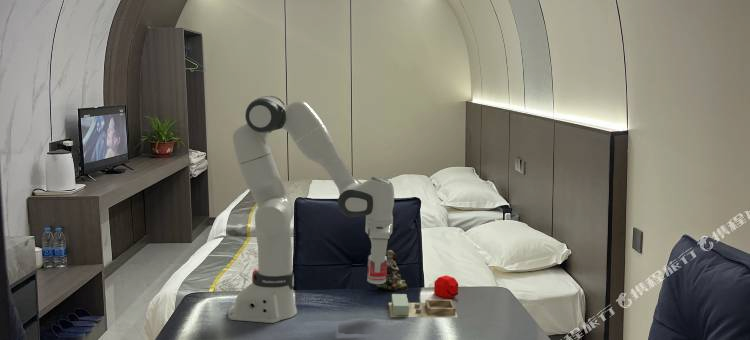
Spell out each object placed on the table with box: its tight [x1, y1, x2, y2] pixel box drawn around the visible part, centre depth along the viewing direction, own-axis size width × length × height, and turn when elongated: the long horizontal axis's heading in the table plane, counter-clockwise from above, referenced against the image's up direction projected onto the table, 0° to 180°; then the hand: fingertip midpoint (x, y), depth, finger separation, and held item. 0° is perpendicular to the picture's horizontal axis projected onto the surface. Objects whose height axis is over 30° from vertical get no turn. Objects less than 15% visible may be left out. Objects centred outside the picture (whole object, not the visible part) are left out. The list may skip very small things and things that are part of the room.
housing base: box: [388, 299, 459, 318], centre depth 226 cm, size 22×14×3 cm, turn 91°
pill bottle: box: [366, 247, 388, 285], centre depth 220 cm, size 6×6×11 cm
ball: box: [433, 275, 459, 299], centre depth 242 cm, size 8×8×8 cm
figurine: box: [375, 249, 409, 292], centre depth 249 cm, size 12×11×15 cm
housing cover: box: [391, 293, 409, 315], centre depth 225 cm, size 5×12×3 cm, turn 1°
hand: (376, 268), depth 220 cm, fingers closed on pill bottle, 6 cm apart
